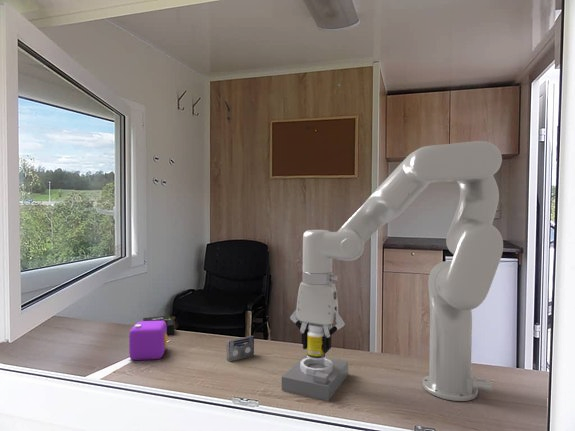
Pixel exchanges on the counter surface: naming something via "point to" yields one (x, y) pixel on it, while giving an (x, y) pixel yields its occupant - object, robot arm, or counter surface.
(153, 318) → the battery charger
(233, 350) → the mini dv tape
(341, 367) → the grey ring holder base
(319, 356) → the supplement bottle
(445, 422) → the counter surface
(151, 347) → the toy camera
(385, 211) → the robot arm
